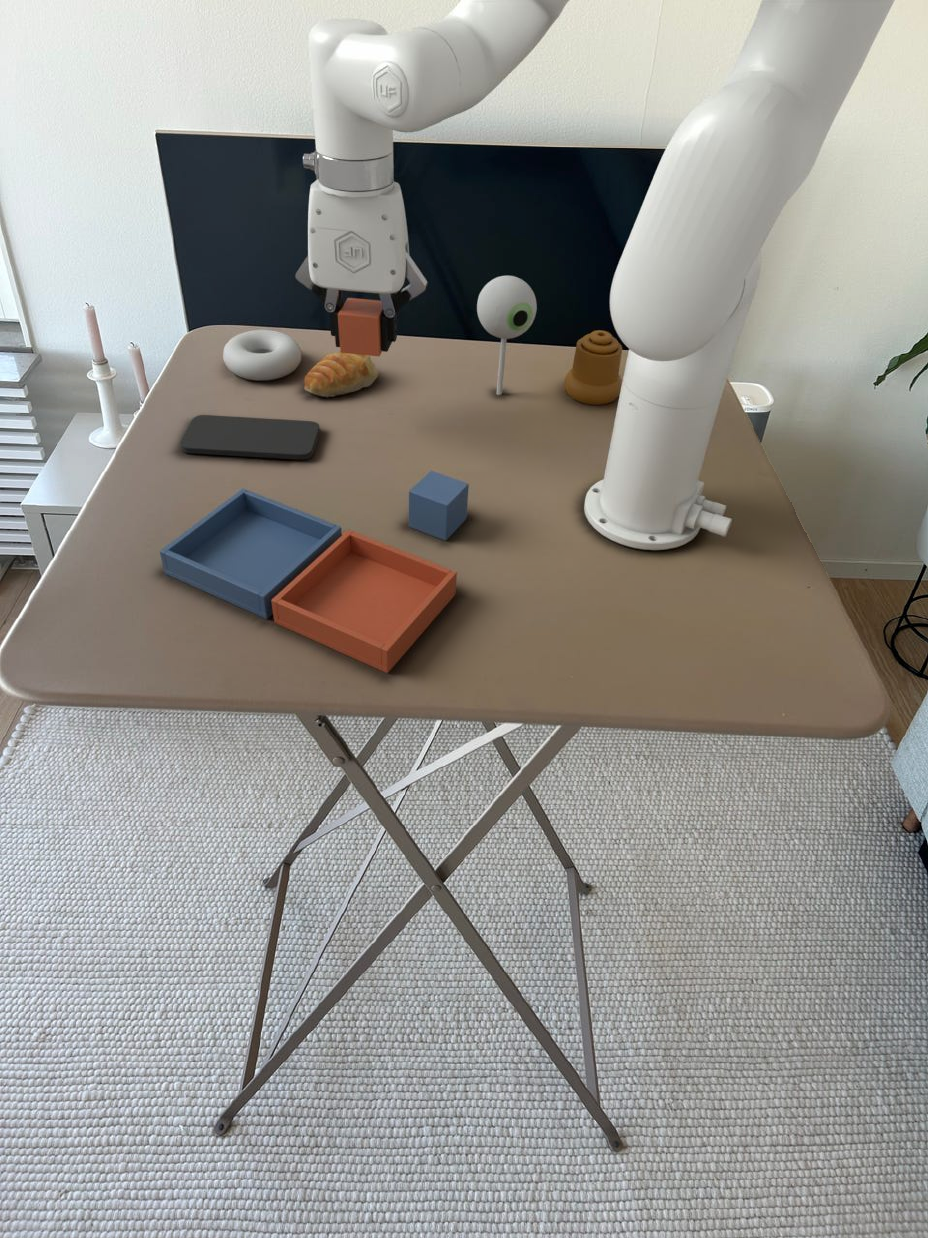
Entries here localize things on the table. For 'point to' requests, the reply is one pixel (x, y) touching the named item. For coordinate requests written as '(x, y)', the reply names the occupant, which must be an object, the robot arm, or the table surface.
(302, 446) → the phone
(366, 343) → the terracotta block
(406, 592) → the terracotta bin
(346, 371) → the pastry
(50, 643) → the table surface
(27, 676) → the table surface
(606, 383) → the ornamental finial
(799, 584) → the table surface
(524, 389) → the table surface
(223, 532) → the slate bin
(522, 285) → the lollipop
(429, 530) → the slate block
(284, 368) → the donut
